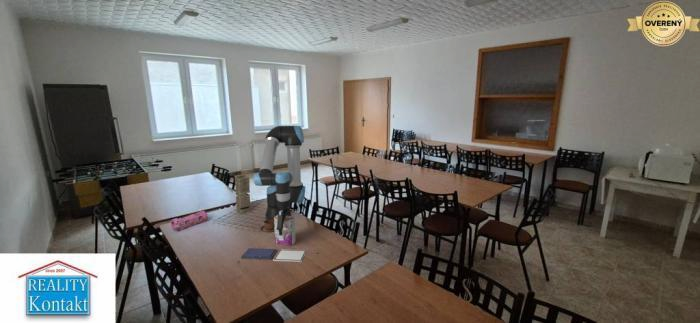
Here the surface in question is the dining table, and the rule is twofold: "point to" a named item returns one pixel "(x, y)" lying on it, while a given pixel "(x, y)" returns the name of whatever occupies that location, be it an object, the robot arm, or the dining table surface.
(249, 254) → the ink pad
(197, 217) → the pencil case
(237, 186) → the block tower
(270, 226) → the cup and saucer
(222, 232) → the dining table surface
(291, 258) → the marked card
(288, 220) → the candy bar box
